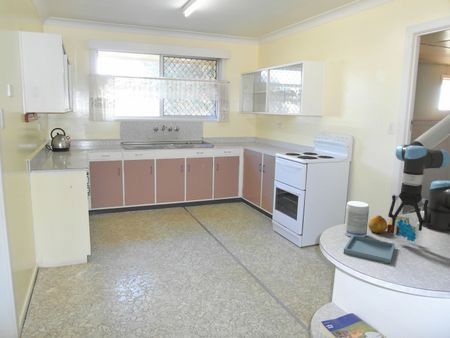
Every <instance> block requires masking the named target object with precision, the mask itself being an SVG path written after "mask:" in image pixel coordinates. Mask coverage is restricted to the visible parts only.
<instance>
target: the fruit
mask: <svg viewBox="0 0 450 338" xmlns="http://www.w3.org/2000/svg"><path fill="white" fill-rule="evenodd" d="M367 227H368V228H369V231H371V232H373V233H376V234H382V233H384V232H386V231H387V227H388V222H387V220H386V219H385V218H384V217H383V216H382V215H375V216H372V217H371V218H370V219H368V225H367Z"/></svg>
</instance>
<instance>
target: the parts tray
mask: <svg viewBox="0 0 450 338" xmlns="http://www.w3.org/2000/svg"><path fill="white" fill-rule="evenodd" d="M395 247H396V243H393V242H388V241H383V240H378V239H373V238H368V237H360V236H355V235H352V237H350V238H349V240H348V242H347V243H346V245H345V247H344V249H343V254H344V255H349V256H353V257H357V258H362V259H365V260H370V261H374V262H379V263H382V264H383V263H384V264H387V265H390V264H391V261H392V258H393V255H394V252H395Z"/></svg>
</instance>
